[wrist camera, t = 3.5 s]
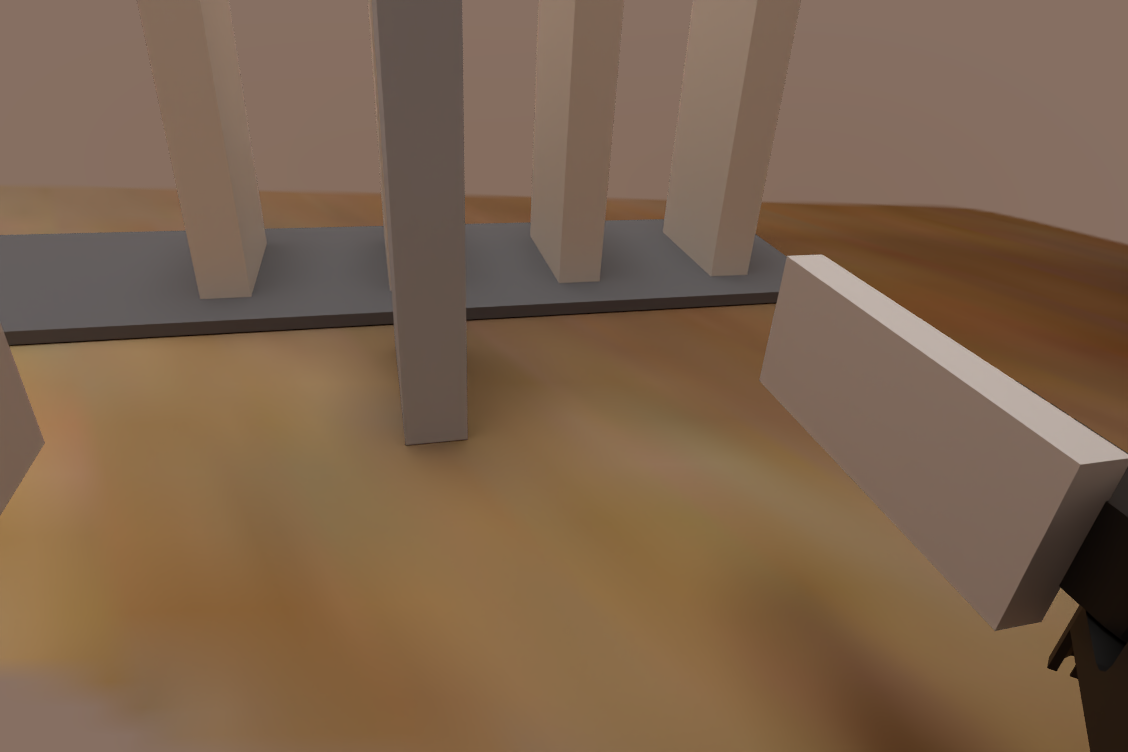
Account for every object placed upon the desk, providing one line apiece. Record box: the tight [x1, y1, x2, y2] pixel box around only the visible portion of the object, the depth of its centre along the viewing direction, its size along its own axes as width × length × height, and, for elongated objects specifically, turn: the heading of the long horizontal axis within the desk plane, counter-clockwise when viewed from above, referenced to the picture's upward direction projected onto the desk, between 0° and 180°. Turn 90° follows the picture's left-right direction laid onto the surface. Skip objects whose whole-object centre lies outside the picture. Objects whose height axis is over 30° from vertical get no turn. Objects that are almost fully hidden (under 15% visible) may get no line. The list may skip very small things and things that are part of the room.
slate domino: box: [372, 0, 468, 445], centre depth 21 cm, size 2×6×12 cm, turn 14°
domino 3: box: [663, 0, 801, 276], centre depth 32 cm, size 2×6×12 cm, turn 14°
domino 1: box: [137, 0, 267, 299], centre depth 27 cm, size 2×6×12 cm, turn 14°
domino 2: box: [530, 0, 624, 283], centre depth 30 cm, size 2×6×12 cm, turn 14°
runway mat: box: [0, 219, 787, 345], centre depth 32 cm, size 38×10×1 cm, turn 104°
